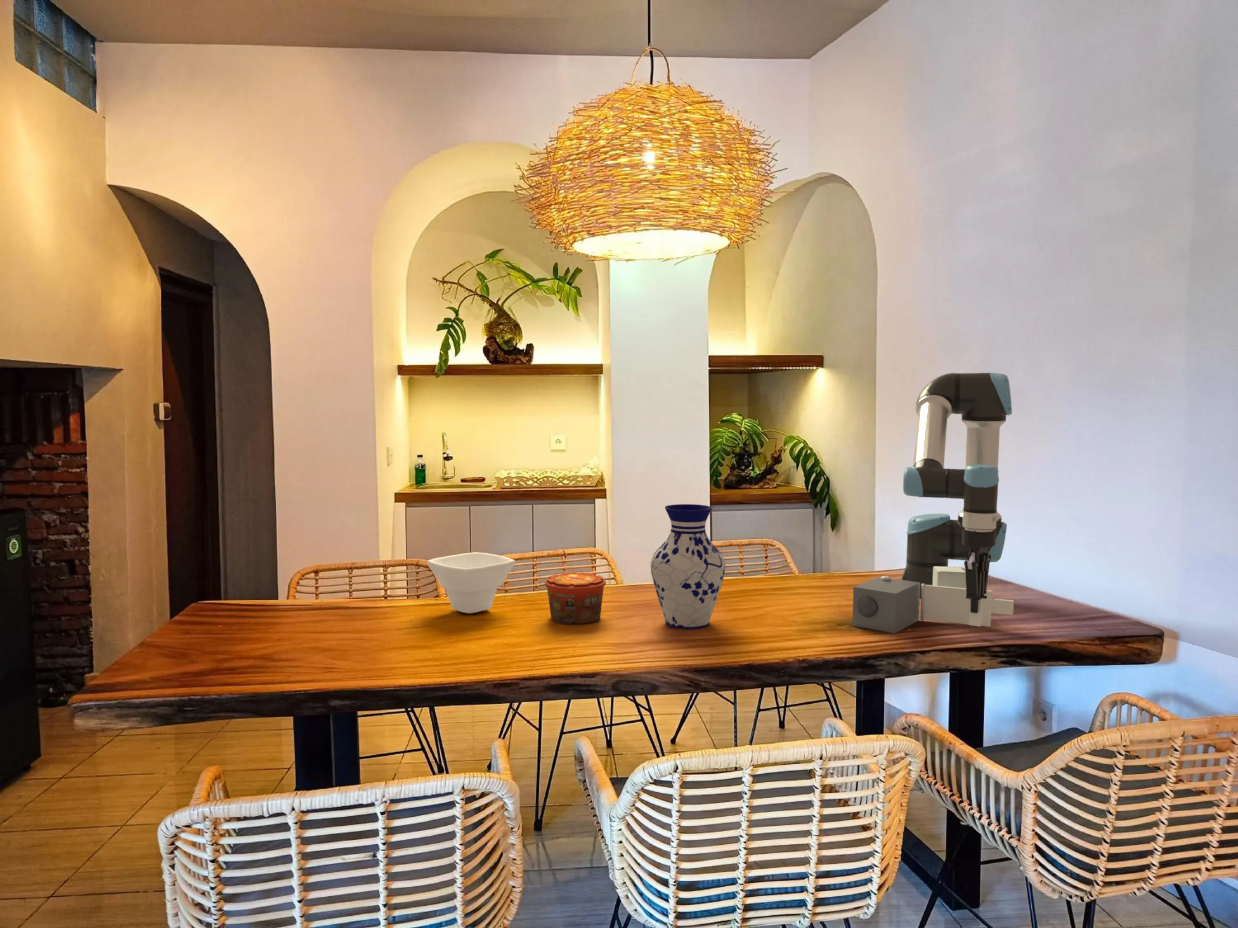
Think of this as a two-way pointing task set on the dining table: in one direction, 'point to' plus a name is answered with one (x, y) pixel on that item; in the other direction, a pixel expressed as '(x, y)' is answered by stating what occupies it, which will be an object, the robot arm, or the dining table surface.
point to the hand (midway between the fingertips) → (975, 624)
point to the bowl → (471, 578)
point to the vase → (687, 569)
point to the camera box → (886, 604)
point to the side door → (958, 605)
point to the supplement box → (949, 577)
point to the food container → (575, 597)
